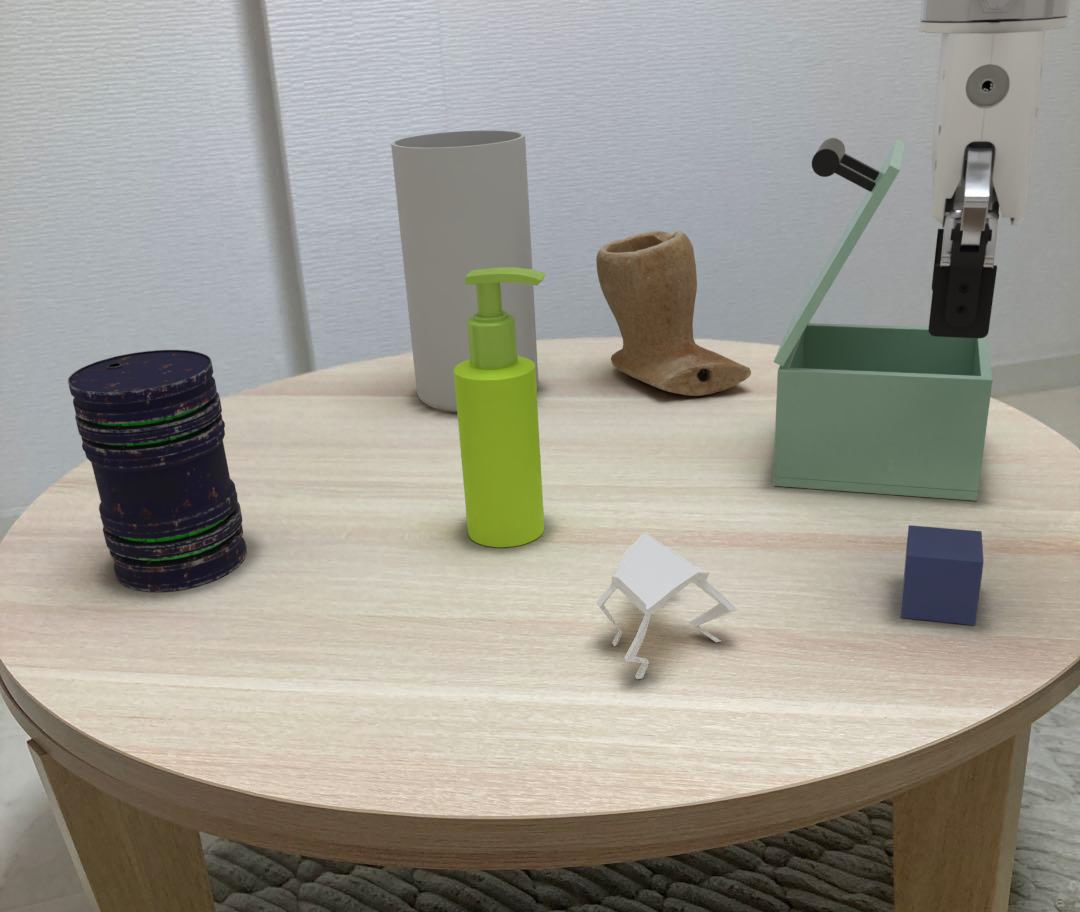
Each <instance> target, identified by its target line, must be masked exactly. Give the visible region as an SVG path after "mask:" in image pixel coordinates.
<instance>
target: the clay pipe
mask: <svg viewBox="0 0 1080 912" xmlns="http://www.w3.org/2000/svg"><path fill="white" fill-rule="evenodd" d="M595 260H596V261H595V263H596V273H597V278H598V281H599V282H598V283H599V286H600V289H601V292H602V294H603V297H604V299H605V301H606V303H607V306H608V308H609V309H610V311H611V313H612V315H613V317H614V319H615V321H616V324H617V326H618V329H619V332H620V336H621V338H622V348H621V349H619V350H616V351H615V352H614V353H613V354H612V355H611V356H610V362H611V365H612V366H613V367H614V368H615V369H617V370H618V371H620V373H621V372H622V373H624V374H625V375H627V376H629V377H631V378H633V379H635V380H637V381H640V382H642V383H645V384H647V385H649V386H652V387H654V388H656V389H659V390H662V391H665V392H669V393H673V394H678V395H683V396H690V397H693V396H694V397H699V396H706V395H707V396H708V395H713V394H715V393H717V392H723V391H725V390H728V389H730V388H732V387H735V386H736V385H738V384H740V383H742V382H744V381H746V380H747V379H749V378H750V376H752V370H751V368H750V367H748V366H746V365H744V364H741V363H739V362H737V361H735V360H732V359H730V358H728V357H726V356H724V355H721V354H720V353H717V352H715V351H712V350H710V349H707V348H705V347H702V346H700V345H698V344H697V343H696V340H695V338H694V328H693V327H694V325H693V324H694V313H695V306H696V305H695V304H696V297H697V290H698V276H697V265H696V259H695V251H694V246H693V243H692V241H691V239H690V238H689V237H688V236H687V235H686V233H685V232H684V231H682V230H676V231H675V232H674V233H669V232H667V231H663V230H653V231H652V230H651V231H647V232H642V233H637V234H633V235H630V236H627V237H625V238H620V239H616V240H613V241H610V242H608V243H606V244H604V245H603V246H602V247H600V249H598V252H597V254H596V259H595Z"/></svg>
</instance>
